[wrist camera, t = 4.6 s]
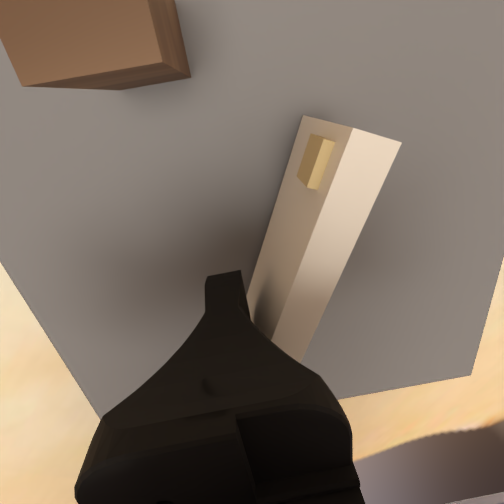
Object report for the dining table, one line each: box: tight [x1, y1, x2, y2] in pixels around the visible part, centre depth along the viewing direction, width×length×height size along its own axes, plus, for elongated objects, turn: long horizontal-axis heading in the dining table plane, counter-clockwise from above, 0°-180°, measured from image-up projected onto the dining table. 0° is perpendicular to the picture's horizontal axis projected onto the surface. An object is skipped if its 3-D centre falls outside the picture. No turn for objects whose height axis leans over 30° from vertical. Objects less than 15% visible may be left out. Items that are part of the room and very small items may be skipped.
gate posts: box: [0, 0, 191, 90], centre depth 11 cm, size 19×2×6 cm, turn 9°
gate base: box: [0, 0, 504, 420], centre depth 14 cm, size 20×22×1 cm
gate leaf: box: [246, 115, 402, 363], centre depth 11 cm, size 13×2×5 cm, turn 165°
